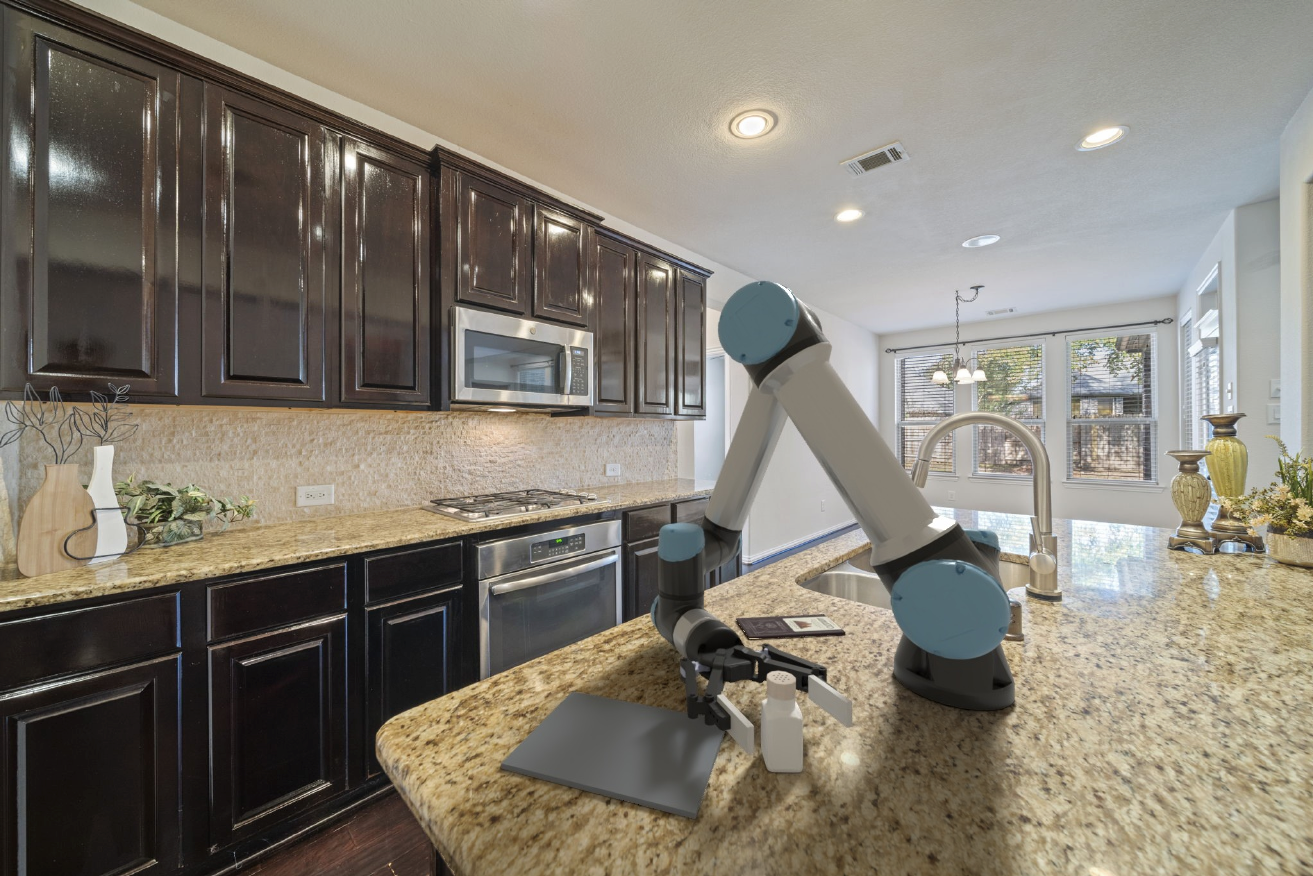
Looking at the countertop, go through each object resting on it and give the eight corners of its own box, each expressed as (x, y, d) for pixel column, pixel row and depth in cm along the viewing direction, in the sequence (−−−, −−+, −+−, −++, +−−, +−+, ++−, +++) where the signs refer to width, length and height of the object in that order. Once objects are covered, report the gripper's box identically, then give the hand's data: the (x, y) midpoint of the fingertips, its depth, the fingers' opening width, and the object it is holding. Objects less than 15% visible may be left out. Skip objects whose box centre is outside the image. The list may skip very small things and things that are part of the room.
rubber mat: (727, 725, 62) (727, 720, 62) (695, 819, 46) (695, 813, 46) (572, 695, 69) (572, 691, 69) (500, 768, 54) (500, 763, 54)
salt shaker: (760, 750, 57) (759, 668, 57) (795, 751, 56) (794, 669, 56) (766, 774, 53) (766, 686, 53) (804, 775, 52) (804, 686, 52)
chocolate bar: (736, 618, 96) (823, 614, 98) (736, 623, 96) (823, 618, 98) (749, 636, 87) (845, 632, 89) (749, 642, 87) (845, 637, 89)
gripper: (777, 656, 76) (890, 737, 55) (629, 685, 67) (698, 793, 47) (777, 608, 76) (890, 671, 55) (629, 630, 67) (698, 714, 47)
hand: (802, 727), depth 51 cm, fingers open, 12 cm apart
